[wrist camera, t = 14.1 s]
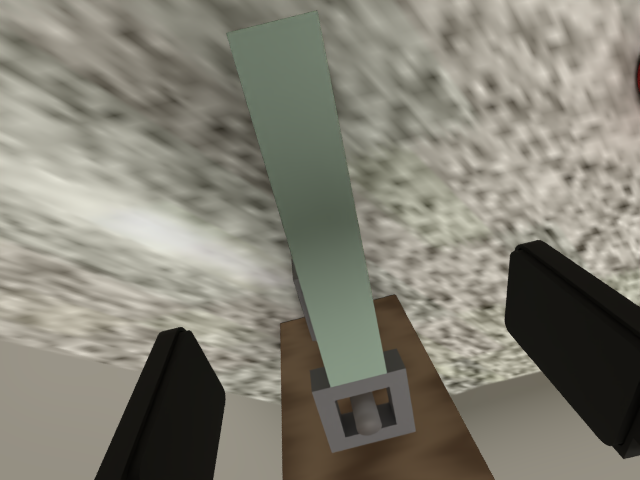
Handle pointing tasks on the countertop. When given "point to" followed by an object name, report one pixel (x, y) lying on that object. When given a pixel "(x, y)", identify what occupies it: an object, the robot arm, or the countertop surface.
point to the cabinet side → (373, 413)
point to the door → (320, 221)
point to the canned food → (638, 77)
